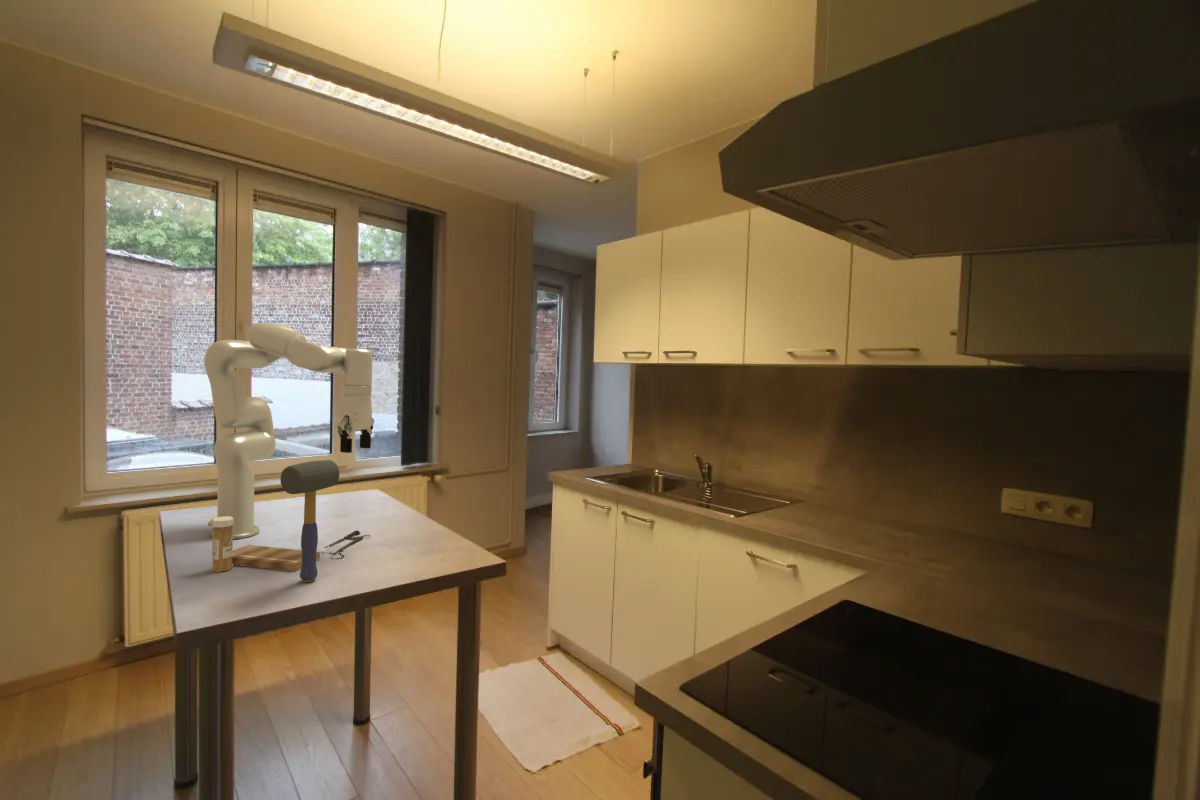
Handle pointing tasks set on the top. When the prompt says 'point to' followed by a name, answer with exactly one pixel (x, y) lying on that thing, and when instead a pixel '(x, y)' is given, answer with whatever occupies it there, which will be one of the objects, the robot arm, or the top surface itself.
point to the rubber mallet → (309, 504)
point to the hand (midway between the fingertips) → (355, 450)
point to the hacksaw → (347, 544)
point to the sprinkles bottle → (222, 543)
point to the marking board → (269, 557)
